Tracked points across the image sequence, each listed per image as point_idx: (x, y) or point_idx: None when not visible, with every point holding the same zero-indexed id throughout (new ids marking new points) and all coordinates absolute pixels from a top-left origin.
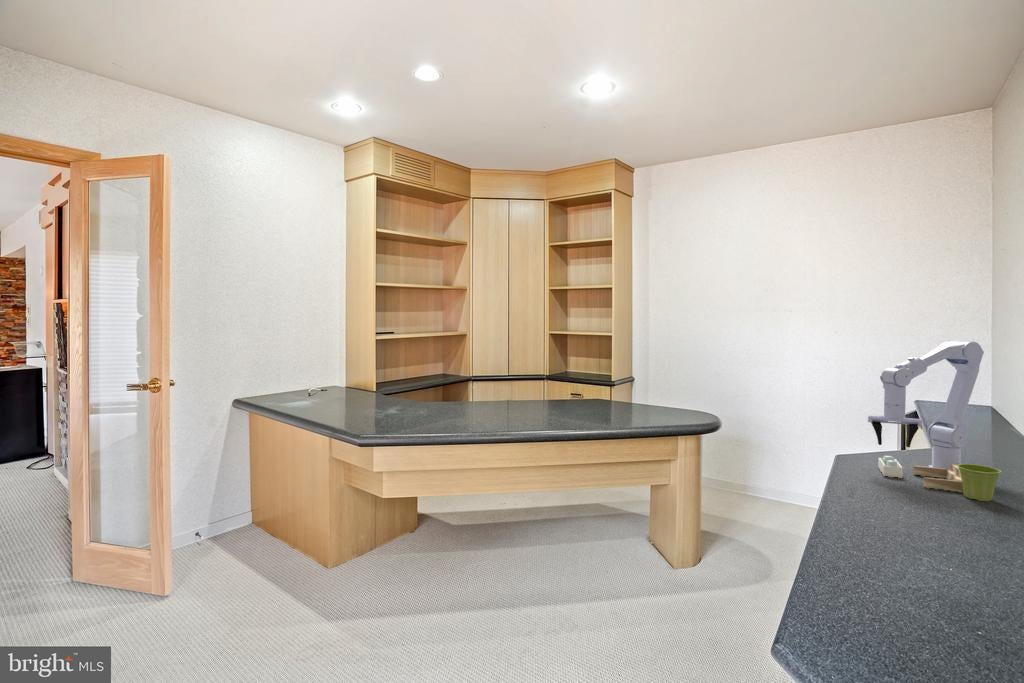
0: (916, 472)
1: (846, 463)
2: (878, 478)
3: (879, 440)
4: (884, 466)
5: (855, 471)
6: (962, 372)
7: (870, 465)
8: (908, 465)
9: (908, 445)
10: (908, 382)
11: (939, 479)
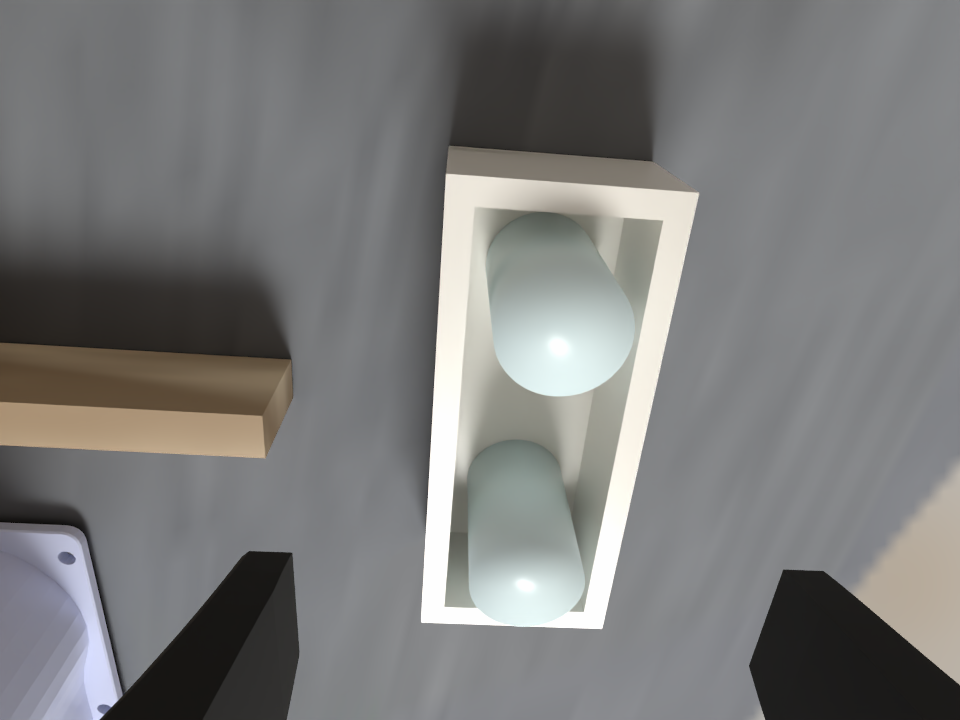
0: (255, 377)
1: None
2: (759, 18)
3: (898, 637)
4: (688, 190)
5: (901, 297)
6: None
7: (627, 598)
8: None
9: (260, 575)
10: None
11: None
